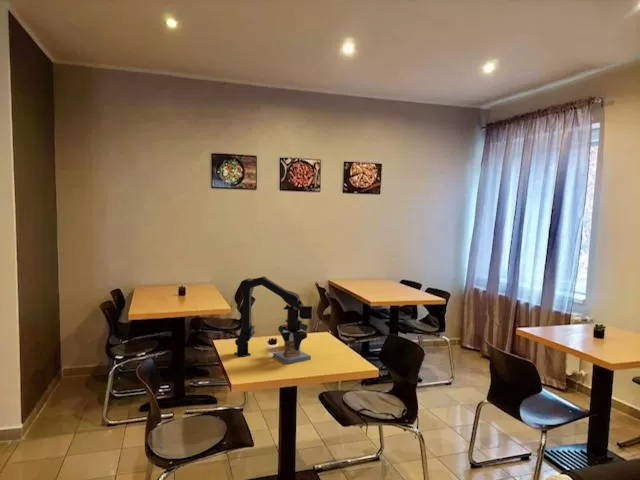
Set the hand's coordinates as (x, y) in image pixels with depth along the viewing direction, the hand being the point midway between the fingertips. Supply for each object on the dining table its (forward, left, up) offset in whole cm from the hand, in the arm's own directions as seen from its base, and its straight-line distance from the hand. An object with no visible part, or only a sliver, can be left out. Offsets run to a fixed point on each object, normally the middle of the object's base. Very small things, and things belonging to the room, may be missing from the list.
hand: (292, 348), depth 233 cm
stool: (0, 0, -3) cm, 3 cm away
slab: (0, 0, -5) cm, 5 cm away
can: (-16, +11, -5) cm, 20 cm away
